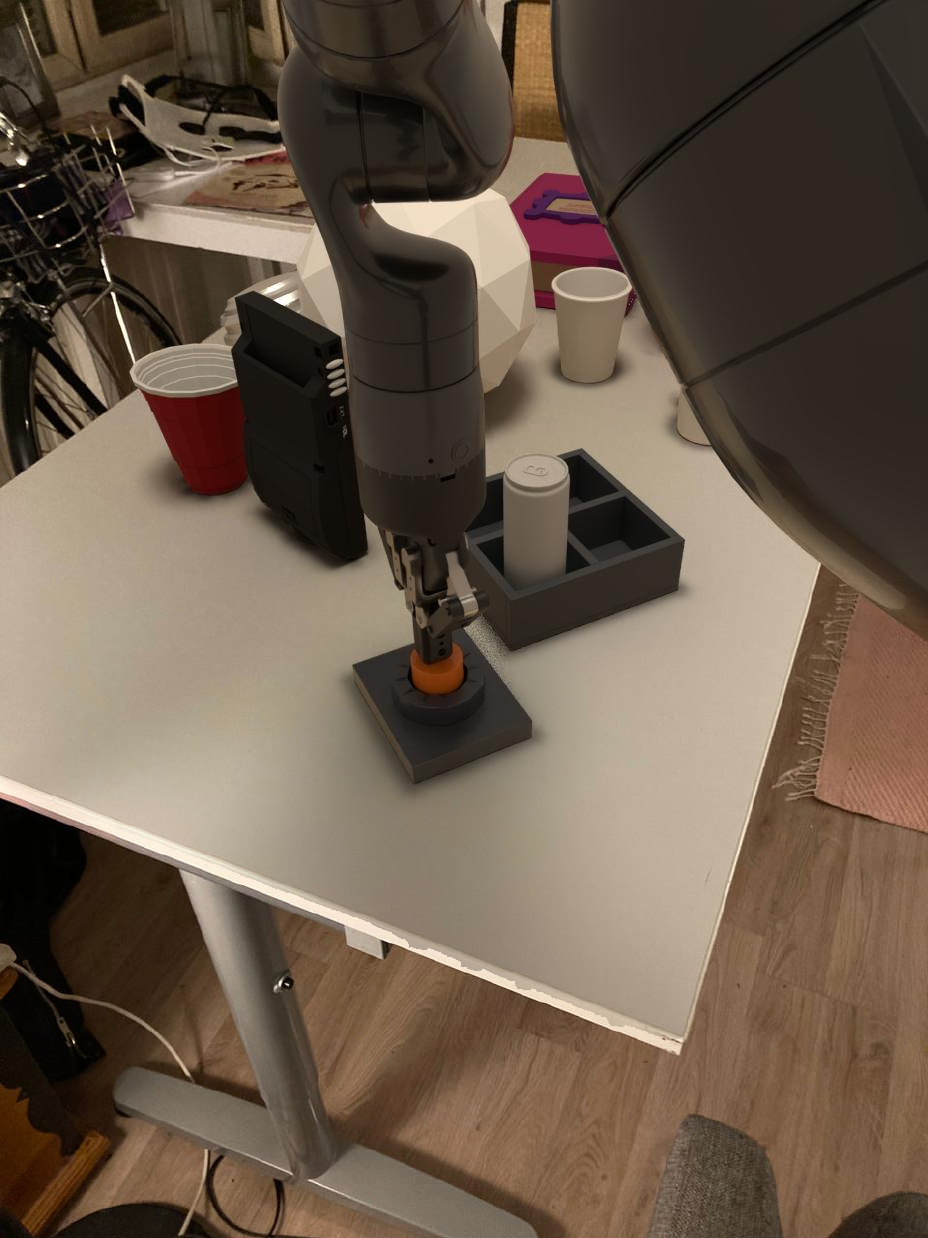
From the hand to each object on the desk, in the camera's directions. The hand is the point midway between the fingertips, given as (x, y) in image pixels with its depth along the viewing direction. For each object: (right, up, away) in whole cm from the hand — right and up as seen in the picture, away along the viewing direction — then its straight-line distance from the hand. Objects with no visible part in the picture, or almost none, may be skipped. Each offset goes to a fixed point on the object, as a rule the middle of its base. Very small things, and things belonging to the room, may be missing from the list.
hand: (434, 654), depth 67 cm
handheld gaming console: (-11, +10, +20) cm, 25 cm away
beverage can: (+8, +4, +11) cm, 14 cm away
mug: (+26, +22, +32) cm, 47 cm away
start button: (0, -2, +1) cm, 2 cm away
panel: (0, -4, +4) cm, 5 cm away
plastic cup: (-22, +16, +27) cm, 38 cm away
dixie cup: (+16, +30, +41) cm, 53 cm away
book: (+17, +49, +63) cm, 82 cm away
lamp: (-7, +27, +39) cm, 48 cm away
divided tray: (+9, +7, +15) cm, 19 cm away
